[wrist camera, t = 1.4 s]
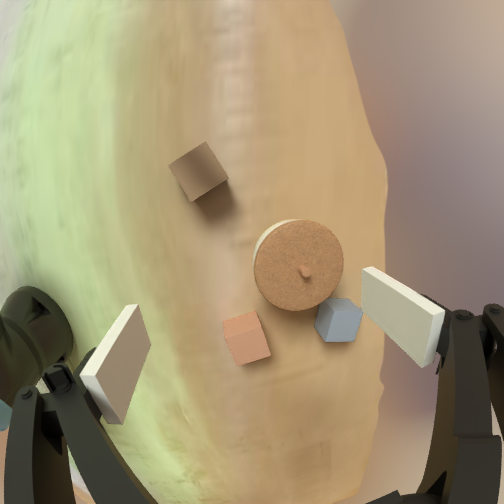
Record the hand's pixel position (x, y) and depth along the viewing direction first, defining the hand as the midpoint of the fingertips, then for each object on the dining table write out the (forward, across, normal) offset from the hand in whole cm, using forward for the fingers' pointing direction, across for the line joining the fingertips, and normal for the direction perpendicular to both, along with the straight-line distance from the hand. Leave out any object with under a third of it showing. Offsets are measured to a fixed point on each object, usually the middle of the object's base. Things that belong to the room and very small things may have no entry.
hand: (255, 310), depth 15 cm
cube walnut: (+22, -3, +9) cm, 24 cm away
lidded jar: (+23, +6, -3) cm, 24 cm away
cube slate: (+23, +13, -14) cm, 30 cm away
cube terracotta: (+22, -1, -14) cm, 26 cm away
